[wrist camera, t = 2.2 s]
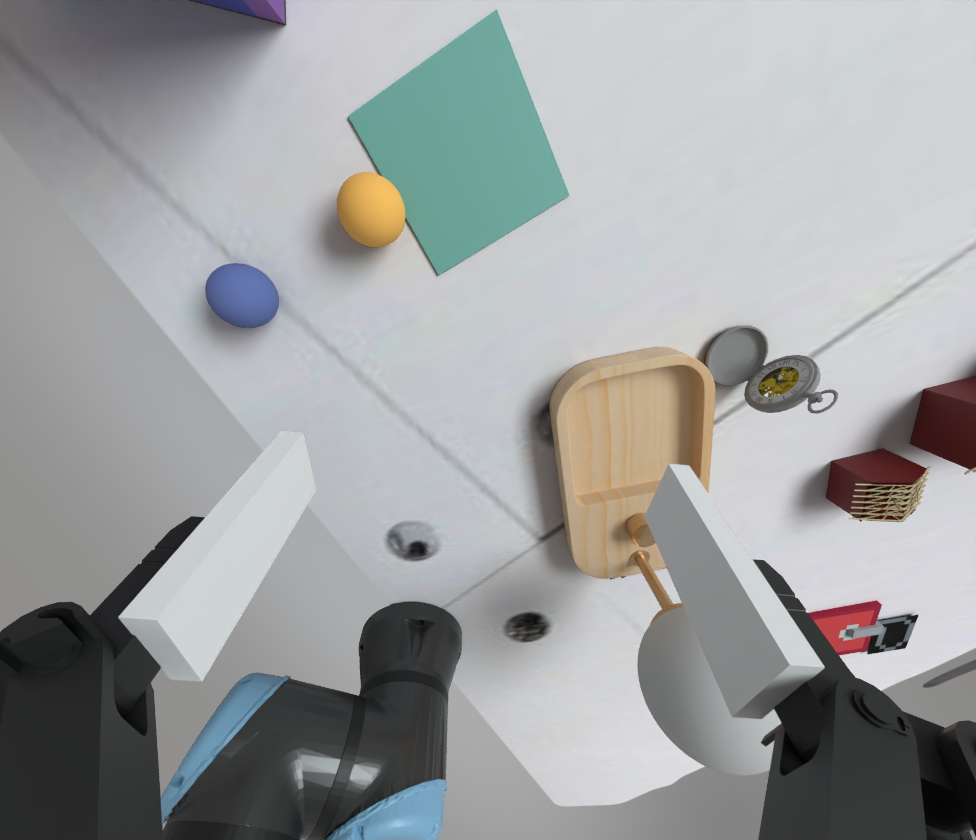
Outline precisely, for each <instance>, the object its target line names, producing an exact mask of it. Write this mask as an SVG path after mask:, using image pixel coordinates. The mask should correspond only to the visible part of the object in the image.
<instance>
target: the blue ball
mask: <svg viewBox="0 0 976 840" xmlns="http://www.w3.org/2000/svg"><path fill="white" fill-rule="evenodd" d="M205 291H206V298H207V301H208V303H209V305H210V307H211V308H212V310H213V311H214V312H215V313H216V314H217V315H218V316H219V317H220V318H221V319H223V320H224V321H226V322H228V323H230V324H232V325H235V326H238V327H243V328H254V327H259V326H262V325H264V324H266V323H268V322H269V321H270V320H271V319H272V318H273V317H274V316H275V314H276V312H277V310H278V306H279V297H278V293H277V290H276V288H275V286H274V284H273V283H272V281H271V280H270V279H269V278H268V277H267V276H266V275H265V274H264V273H263V272H261V271H260V270H258V269H256V268H254V267H252V266H249V265H245V264H238V263H233V264H227V265H223V266H221V267H219V268H217V269H216V270H215V271H213V272H212V274H211V275H210V276H209V278H208V280H207V283H206V289H205Z"/></svg>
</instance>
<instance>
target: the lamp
mask: <svg viewBox="0 0 976 840" xmlns="http://www.w3.org/2000/svg"><path fill="white" fill-rule="evenodd" d="M714 408H715V383H714V379H713V377H712V374H711V373H710V371H709V370H708V368H707V367H706V366H705V365H704V364H703V363H701V362H700V361H698V360H697V359H695V358H693V357H690V356H688V355H686V354H684V353H681V352H679V351H677V350H675V349H671V348H667V347H653V348H647V349H641V350H636V351H631V352H626V353H621V354H616V355H611V356H606V357H602V358H597V359H592V360H588V361H585V362H582V363H580V364H578V365H576V366H575V367H573V368H572V369H570V370H569V371H568V372H567V373H565V374H564V375H563V376H562V378H561V379H560V380H559V381H558V383H557V384H556V386H555V388H554V390H553V393H552V395H551V399H550V418H551V427H552V434H553V442H554V450H555V458H556V465H557V473H558V480H559V488H560V496H561V503H562V511H563V518H564V526H565V534H566V539H567V542H568V545H569V548H570V551H571V553H572V556H573V559H574V561H575V563H576V565H577V566H578V568H579V569H580V570H581V571H583V572H584V573H586V574H588V575H590V576H593V577H596V578H605V579H608V578H610V580H611V579H613V578H617V577H621V578H623V577H625V576H628V575H634V574H639V573H642V574H643V576H644V577H645V579H646V581H647V583H648V584H649V586H650V588H651V590H652V592H653V593H654V595H655V597H656V599H657V601H658V602H659V604H660V606H661V608H662V610H661V611H659V612H658V613H657V614H656V615H655V617H654V618H653V619H652V621H651V624H650V626H649V627H648V629H647V630H646V632H645V634H644V636H643V638H642V641H641V644H640V648H639V653H638V676H639V682H640V687H641V690H642V693H643V696H644V699H645V702H646V704H647V706H648V708H649V710H650V712H651V714H652V716H653V718H654V719H655V721H656V722H657V724H658V725H659V727H660V728H661V729H662V731H663V732H664V733H665V734H666V736H667V737H668V738H669V739H670V740H671V741H672V742H673V743H674V744H675V745H676V746H677V747H678V748H679V749H680V750H682V751H683V752H684V753H685V754H687V755H688V756H689V757H691V758H692V759H694V760H695V761H697V762H699V763H701V764H702V765H704V766H707V767H709V768H711V769H713V770H716V771H719V772H723V773H727V774H732V775H754V774H759V773H763V772H765V771H768V770H770V765H771V759H772V753H773V747H774V741H775V740H774V741H773V742H772V743H770V744H769V745H768V746H766V747H765V746H764V745H763V744H761V741H762V739H763V738H764V736H765V735H766V734H768V733H769V732H770V731H772V730H773V729H774V728H776V727H777V726H778V725H780V724H781V721H780V719H779V717H778V715H777V713H776V712H775V710H774V709H773V710H772V711H771V712H770V713H769V714H767V715H766V716H765V717H764V718H762V719H751V718H736V717H732V716H731V714H730V712H729V709H728V707H727V705H726V703H725V700H724V698H723V696H722V693H721V691H720V689H719V687H718V684H717V682H716V680H715V677H714V675H713V673H712V670H711V668H710V666H709V664H708V661H707V659H706V657H705V654H704V652H703V650H702V648H701V645H700V643H699V641H698V638H697V636H696V634H695V631H694V629H693V627H692V625H691V622H690V620H689V618H688V615H687V613H686V611H685V608H684V606H683V604H682V603H678V604H673V603H672V601H671V599H670V598H669V596H668V594H667V593H666V591H665V589H664V588H663V586H662V584H661V583H660V581H659V579H658V578H657V576H656V574H655V573H654V571H655V570H660V569H665V568H667V567H666V565H665V563H664V560H663V558H662V556H661V553H660V551H659V549H658V546H657V544H656V542H655V540H654V537H653V535H652V533H651V530H650V528H649V526H648V524H647V521H646V519H645V517H644V516H645V514H646V512H647V510H648V508H649V506H650V503H651V501H652V499H653V497H654V495H655V492H656V490H657V488H658V486H659V484H660V481H661V479H662V477H663V475H664V473H665V470H666V468H667V466H668V464H678V465H689V466H690V467H691V469H692V470H693V472H694V473H695V475H696V476H697V478H698V479H699V481H700V482H701V484H702V485H703V487H704V488H705V490H706V491H707V493H709V479H710V465H711V451H712V437H713V423H714Z"/></svg>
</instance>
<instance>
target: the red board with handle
mask: <svg viewBox="0 0 976 840" xmlns="http://www.w3.org/2000/svg"><path fill="white" fill-rule="evenodd" d="M881 606H882V605H881V604H880V603H879V602H878V601H872V602H866V603H861V604H855V605H850V606H844V607H839V608H833V609H827V610H822V611H816V612H811V613H809V615H810V616H811V617H812V619H813V620H814V622H815V623H816V624H817V626H818V627H819V629H820V630H821V631H822V633H823V634H824V636H825V637H826V638H827V640H828V641H829V643H830V644H831V645H832V647H833V648H834V649H835V651H836V652H837V654H838V655H844V654H850V653H856V652H862V651H867V648H868V645H869V642H870V639H871V636H873V638H872V641H871V644H870V647H869V650H868V653H867V654H872V653H879V652H885V651H891V650H897V649H904V648H906V646H907V643H908V640H909V638H910V635H911V633H912V630H913V628H914V625H915V623H916V620H917V618H918V615H914V616H908V617H902V618H896V619H889V620H883V621H877V618H878V615H879V612H880V609H881Z"/></svg>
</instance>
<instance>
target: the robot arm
mask: <svg viewBox="0 0 976 840" xmlns="http://www.w3.org/2000/svg"><path fill="white" fill-rule="evenodd" d="M315 491H316V487H315V483H314V478H313V474H312V469H311V465H310V461H309V456H308V452H307V447H306V443H305V438H304V434H303V433H302V432H290V431H281V432H280V433H279V434H278V435H277V436H276V437H275V439H274V440H273V441H272V442H271V443H270V444H269V445H268V447H267V448H266V449H265V450H264V451H263V452H262V453H261V455H260V456H259V457H258V458H257V459H256V460H255V461H254V463H253V464H252V465H251V466H250V467H249V468H248V469H247V471H246V472H245V473H244V474H243V475H242V476H241V478H240V479H239V480H238V481H237V482H236V483H235V484H234V485H233V487H232V488H231V489H230V490H229V491H228V492H227V493H226V495H225V496H224V497H223V498H222V499H221V500H220V502H219V503H218V504H217V505H216V506H215V507H214V508H213V509H212V511H211V512H210V513H209V514H208V515H207V516H206V517H190V518H188V519H187V520H185V521H184V522H182V523H181V524H179V525H178V526H176V527H175V528H173V529H172V530H170V531H169V532H168V533H167V535H166V536H165V537H164V538H163V539H162V540H161V541H160V542H159V543H158V544H157V545H156V546H155V549H154V550H152V551H151V552H150V553H149V554H148V555H147V556H146V557H145V558H144V559H143V560H142V563H141V564H138V565H137V566H136V567H135V568H134V570H132V572H131V573H130V574H129V575H128V576H127V577H126V578H125V579H124V580H123V581H122V582H121V583H120V584H119V585H118V586H117V588H116V589H115V590H114V591H113V592H112V593H111V594H110V595H109V596H108V597H107V598H106V599H105V600H104V601H103V602H102V603H101V604H100V605H99V607H98V608H97V609H96V610H95V611H94V612H93V613H92V614H91V615H89V614H88V613H87V612H86V611H85V610H84V609H83V608H82V607H81V606H80V605H78V604H75V603H73V602H57V603H54V604H50V605H47V606H44V607H40V608H38V609H36V610H34V611H32V612H30V613H28V614H26V615H24V616H22V617H20V618H19V619H17V620H16V621H14V622H13V623H12V624H10V625H9V626H7V627H6V628H4V629H3V630H2V631H1V632H0V840H437V839H438V837H439V834H440V832H441V828H442V821H443V810H444V798H445V791H446V788H447V782H446V753H447V718H448V716H447V715H448V691H449V688H450V685H451V682H452V678H453V675H454V672H455V668H456V665H457V663H458V660H459V658H460V655H461V649H462V632H461V628H460V625H459V624H458V622H457V621H456V619H455V618H454V617H453V616H452V615H451V614H449V613H448V612H446V611H445V610H443V609H441V608H439V607H436V606H434V605H430V604H426V603H419V602H405V603H398V604H394V605H390V606H387V607H385V608H383V609H381V610H379V611H377V612H376V613H374V614H373V615H372V616H371V617H370V618H369V619H368V620H367V622H366V623H365V625H364V627H363V631H362V634H361V638H360V642H359V656H360V675H361V677H360V678H361V690H360V695H359V696H357V695H353V694H350V693H345V692H342V691H337V690H333V689H329V688H325V687H321V686H317V685H313V684H308V683H305V682H300V681H297V680H293V679H290V677H289V676H285V677H280V676H274V675H268V674H263V673H252V674H249V675H247V676H245V677H244V678H242V679H241V680H240V681H238V682H237V683H236V684H235V685H234V687H233V688H232V689H231V690H230V692H229V693H228V694H227V696H226V697H225V698H224V700H223V701H222V702H221V704H220V705H219V707H218V708H217V709H216V711H215V713H214V714H213V715H212V717H211V718H210V720H209V721H208V723H207V724H206V725H205V727H204V728H203V730H202V731H201V733H200V734H199V736H198V738H197V739H196V741H195V742H194V744H193V745H192V747H191V749H190V750H189V751H188V753H187V755H186V756H185V758H184V759H183V761H182V763H181V764H180V766H179V768H178V771H177V772H176V773H175V775H174V776H173V778H172V780H171V782H170V783H169V785H168V786H167V787H166V789H165V791H164V792H163V794H162V796H161V798H160V782H159V768H158V767H159V766H158V751H157V735H156V721H155V720H156V719H155V704H154V691H153V688H152V685H151V681H152V680H153V678H154V677H155V676H156V674H157V673H158V671H159V670H160V668H161V670H162V671H163V672H164V673H165V674H166V676H167V677H168V678H169V679H170V680H184V681H198V682H202V681H203V679H204V678H205V676H206V674H207V673H208V671H209V669H210V668H211V666H212V664H213V663H214V661H215V659H216V658H217V656H218V654H219V652H220V651H221V649H222V647H223V646H224V644H225V642H226V641H227V639H228V637H229V636H230V634H231V632H232V631H233V629H234V627H235V626H236V624H237V622H238V620H239V619H240V617H241V615H242V614H243V612H244V610H245V609H246V607H247V605H248V604H249V602H250V600H251V599H252V597H253V595H254V594H255V592H256V590H257V589H258V587H259V585H260V583H261V582H262V580H263V578H264V577H265V575H266V573H267V572H268V570H269V568H270V567H271V565H272V563H273V562H274V560H275V558H276V556H277V555H278V553H279V551H280V550H281V548H282V546H283V545H284V543H285V541H286V540H287V538H288V536H289V535H290V533H291V531H292V530H293V528H294V526H295V525H296V523H297V521H298V519H299V518H300V516H301V514H302V513H303V511H304V509H305V507H306V506H307V504H308V503H309V501H310V499H311V498H312V496H313V494H314V493H315ZM644 517H645V519H646V521H647V524H648V526H649V528H650V530H651V533H652V535H653V537H654V540H655V542H656V544H657V546H658V549H659V551H660V553H661V556H662V558H663V560H664V563H665V565H666V567H667V569H668V572H669V574H670V576H671V579H672V581H673V583H674V586H675V588H676V590H677V592H678V595H679V597H680V599H681V602H682V604H683V606H684V608H685V611H686V613H687V615H688V618H689V620H690V622H691V625H692V627H693V629H694V631H695V634H696V636H697V638H698V641H699V643H700V645H701V648H702V650H703V652H704V654H705V657H706V659H707V661H708V664H709V666H710V668H711V670H712V673H713V675H714V677H715V680H716V682H717V684H718V687H719V689H720V691H721V693H722V696H723V698H724V700H725V703H726V705H727V707H728V709H729V712H730V714H731V716H732V717H736V718H751V719H762V718H764V717H765V716H766V715H767V714H769V713H770V712H771V711H772V710H773V709H774V710H775V712H776V713H777V715H778V717H779V719H780V721H781V724H780V725H778V726H777V727H776V728H774V729H773V730H772V731H770V732H769V733H768V734H766V735H765V736H764V738H763V739H762V741H761V744H763V745H764V746H765V747H766V746H768V745H769V744H770V743H772V742H773V741H774V740H775V741H774V747H773V753H772V759H771V765H770V771H769V778H768V784H767V790H766V796H765V802H764V809H763V814H762V821H761V827H760V833H759V840H973V839H972V837H971V835H970V832H969V831H970V830H973V831H974V833H975V836H976V723H975V722H971V721H959V722H957V723H955V724H953V725H951V726H949V727H947V728H944V727H942V726H939V725H937V724H934V723H931V722H929V721H926V720H923V719H921V718H918V717H916V716H913V715H911V714H908V713H906V712H903V711H902V710H901V709H900V708H899V707H898V706H897V705H896V704H895V703H894V702H893V701H892V700H891V699H890V698H889V697H888V696H886V695H885V694H884V693H883V692H881V691H880V690H879V689H877V688H876V687H875V686H873V685H871V684H869V683H867V682H865V681H863V680H861V679H858V678H855V676H854V675H853V674H852V673H851V671H850V670H849V669H848V668H847V666H846V665H845V663H844V662H843V661H842V659H841V658H840V656H839V655H838V654H837V652H836V651H835V649H834V648H833V647H832V645H831V644H830V643H829V641H828V640H827V638H826V637H825V636H824V634H823V633H822V631H821V630H820V629H819V627H818V626H817V624H816V623H815V622H814V620H813V619H812V617H811V616H810V615H809V613H806V611H805V610H806V609H805V608H804V606H803V605H802V604H801V602H800V601H799V599H798V598H795V594H794V592H793V591H792V590H791V588H790V587H789V585H788V584H787V583H786V581H785V580H784V578H783V577H782V576H781V575H780V574H779V573H778V572H776V571H775V570H774V569H773V568H772V567H771V566H770V565H769V564H768V563H766V562H765V561H764V560H753V559H752V558H751V557H750V555H749V554H748V552H747V551H746V549H745V548H744V546H743V545H742V543H741V542H740V540H739V539H738V537H737V536H736V534H735V533H734V531H733V530H732V528H731V527H730V525H729V524H728V522H727V521H726V519H725V518H724V516H723V515H722V513H721V512H720V510H719V509H718V507H717V506H716V504H715V503H714V501H713V500H712V499H711V497H710V496H709V494H708V493H707V491H706V490H705V488H704V487H703V485H702V484H701V482H700V481H699V479H698V478H697V476H696V475H695V473H694V472H693V470H692V469H691V467H690V466H689V465H678V464H668V466H667V468H666V470H665V473H664V475H663V477H662V479H661V481H660V484H659V486H658V488H657V490H656V492H655V495H654V497H653V499H652V501H651V503H650V506H649V508H648V510H647V512H646V514H645V516H644ZM165 821H167V823H166V825H165V827H164V829H163V830H162V823H164V822H165Z"/></svg>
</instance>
